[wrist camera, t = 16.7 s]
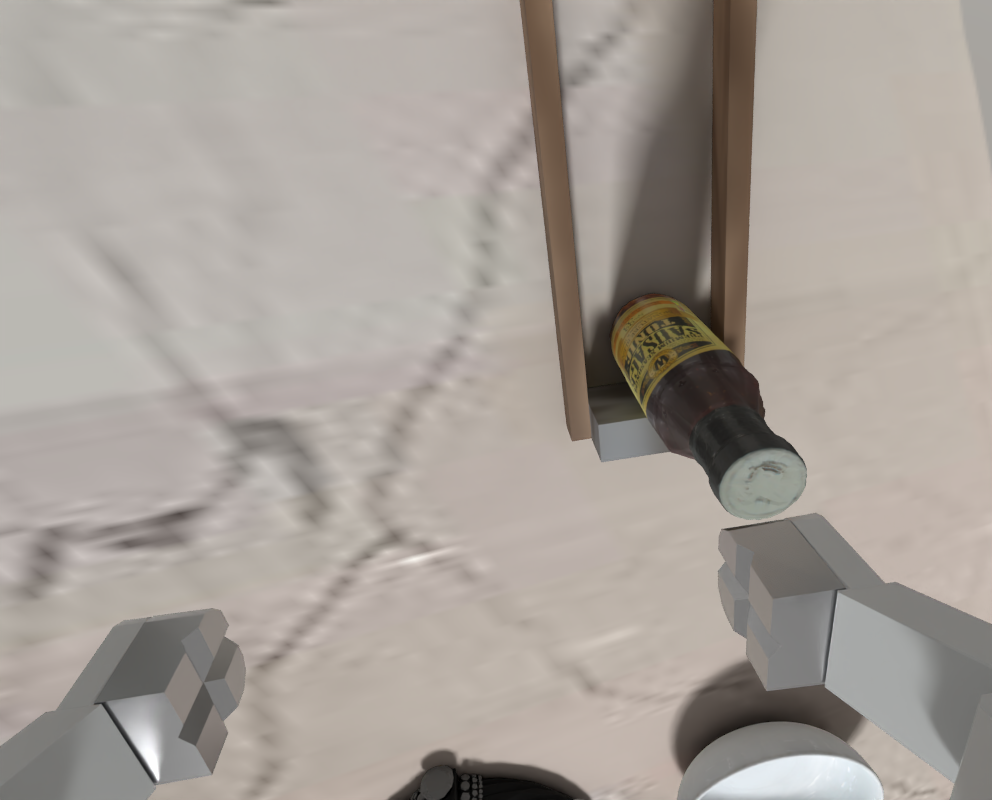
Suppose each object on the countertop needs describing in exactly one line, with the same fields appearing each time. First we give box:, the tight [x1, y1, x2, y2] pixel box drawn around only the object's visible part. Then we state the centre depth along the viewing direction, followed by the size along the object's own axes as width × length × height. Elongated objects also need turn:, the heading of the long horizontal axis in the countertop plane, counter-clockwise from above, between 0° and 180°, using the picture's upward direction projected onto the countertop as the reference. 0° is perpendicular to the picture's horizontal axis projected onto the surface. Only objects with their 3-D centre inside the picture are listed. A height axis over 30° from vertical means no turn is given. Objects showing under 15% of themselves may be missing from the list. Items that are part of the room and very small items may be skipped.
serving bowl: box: [677, 722, 884, 800], centre depth 64 cm, size 21×21×7 cm
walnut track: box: [520, 0, 757, 462], centre depth 38 cm, size 13×30×6 cm, turn 8°
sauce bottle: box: [610, 293, 807, 520], centre depth 35 cm, size 7×6×20 cm
